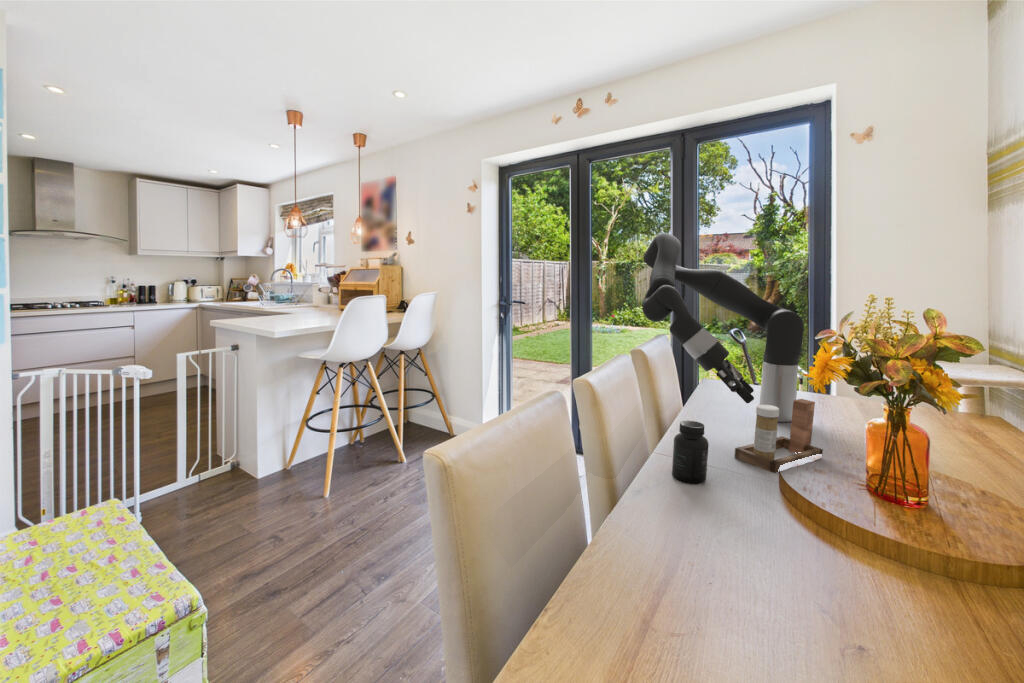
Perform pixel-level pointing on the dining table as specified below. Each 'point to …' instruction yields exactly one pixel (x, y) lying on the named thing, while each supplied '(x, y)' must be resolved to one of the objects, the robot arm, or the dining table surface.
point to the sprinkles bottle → (766, 430)
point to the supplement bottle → (690, 453)
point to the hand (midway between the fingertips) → (751, 397)
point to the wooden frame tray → (787, 440)
